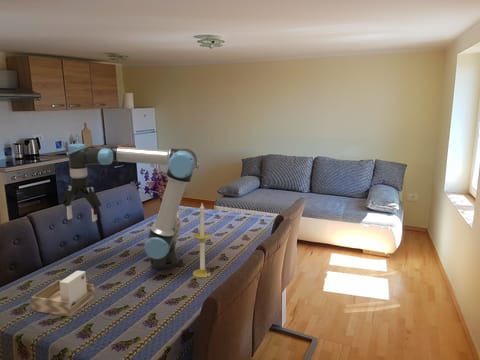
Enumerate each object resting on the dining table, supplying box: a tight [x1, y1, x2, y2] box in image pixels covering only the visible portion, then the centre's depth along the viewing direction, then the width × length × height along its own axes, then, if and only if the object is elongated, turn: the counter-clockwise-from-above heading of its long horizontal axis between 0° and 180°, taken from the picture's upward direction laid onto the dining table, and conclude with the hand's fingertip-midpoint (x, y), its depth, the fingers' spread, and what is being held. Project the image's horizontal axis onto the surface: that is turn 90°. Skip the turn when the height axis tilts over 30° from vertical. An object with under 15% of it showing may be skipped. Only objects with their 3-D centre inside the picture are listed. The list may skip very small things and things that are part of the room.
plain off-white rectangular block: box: [59, 270, 87, 307], centre depth 153 cm, size 4×11×12 cm, turn 167°
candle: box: [192, 203, 211, 278], centre depth 182 cm, size 10×10×38 cm
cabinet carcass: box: [30, 279, 95, 317], centre depth 155 cm, size 18×16×6 cm
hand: (82, 219), depth 177 cm, fingers open, 13 cm apart
